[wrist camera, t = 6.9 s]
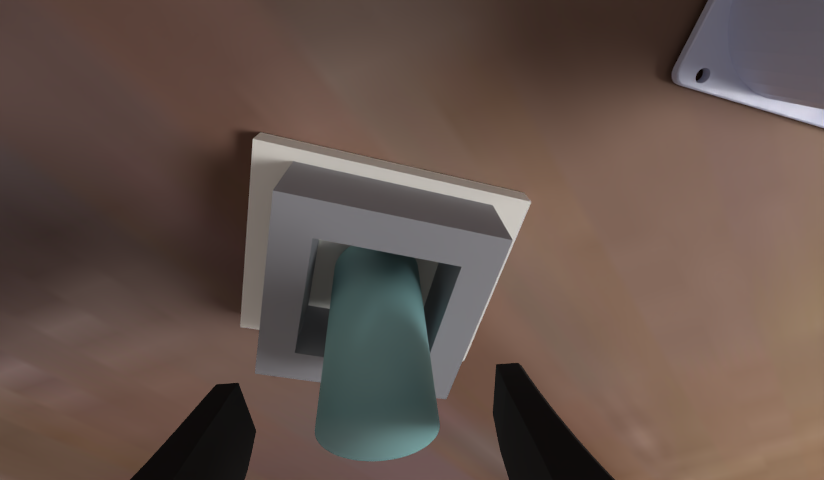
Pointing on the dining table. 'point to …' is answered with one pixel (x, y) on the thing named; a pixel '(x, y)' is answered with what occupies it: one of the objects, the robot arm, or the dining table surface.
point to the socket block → (372, 229)
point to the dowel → (376, 361)
